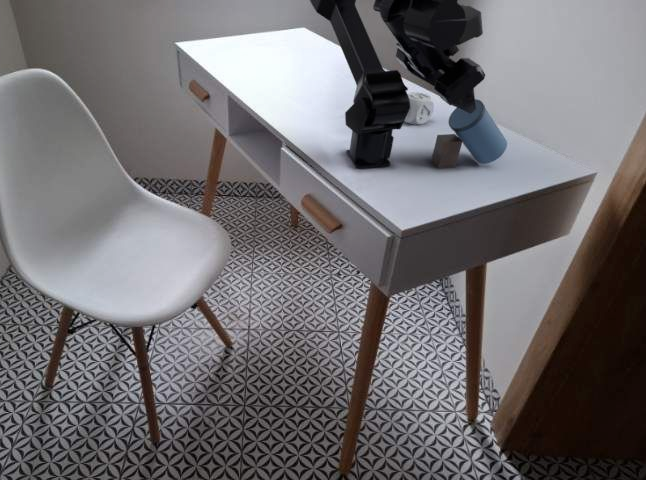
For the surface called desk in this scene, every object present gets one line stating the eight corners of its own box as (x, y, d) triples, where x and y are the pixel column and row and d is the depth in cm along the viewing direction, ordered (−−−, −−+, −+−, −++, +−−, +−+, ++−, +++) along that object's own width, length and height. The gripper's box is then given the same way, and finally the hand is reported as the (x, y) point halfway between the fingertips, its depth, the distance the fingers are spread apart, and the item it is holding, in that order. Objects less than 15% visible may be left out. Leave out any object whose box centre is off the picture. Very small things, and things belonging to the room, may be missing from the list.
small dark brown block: (438, 168, 92) (445, 142, 88) (431, 160, 94) (437, 134, 91) (455, 167, 92) (462, 141, 89) (447, 159, 94) (454, 133, 91)
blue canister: (448, 172, 91) (466, 109, 83) (433, 156, 95) (448, 95, 88) (506, 167, 93) (528, 106, 85) (488, 152, 97) (508, 92, 90)
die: (431, 122, 108) (436, 98, 104) (413, 126, 105) (418, 102, 102) (414, 113, 111) (419, 90, 108) (397, 118, 109) (401, 94, 105)
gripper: (495, 4, 67) (535, 86, 77) (430, -27, 81) (471, 45, 90) (426, 67, 71) (472, 137, 80) (374, 27, 84) (419, 91, 94)
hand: (458, 99), depth 86 cm, fingers open, 9 cm apart
